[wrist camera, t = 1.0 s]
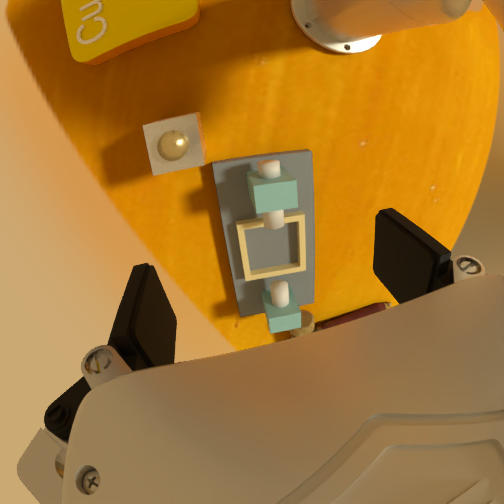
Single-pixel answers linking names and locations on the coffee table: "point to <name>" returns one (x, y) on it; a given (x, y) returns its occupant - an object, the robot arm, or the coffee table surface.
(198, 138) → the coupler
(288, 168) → the shaft stand
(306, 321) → the gavel
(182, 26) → the element tile
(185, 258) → the coffee table surface
